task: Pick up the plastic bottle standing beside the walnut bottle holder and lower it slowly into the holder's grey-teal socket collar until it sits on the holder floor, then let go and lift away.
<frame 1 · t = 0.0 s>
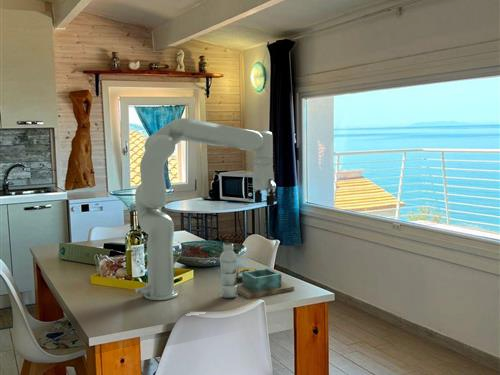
hand: (264, 203, 224), 31 cm above the table, fingers open, 9 cm apart
plastic bottle: (229, 297, 203), on the table
bottle holder: (261, 289, 212), on the table
electronic device: (245, 280, 228), on the table
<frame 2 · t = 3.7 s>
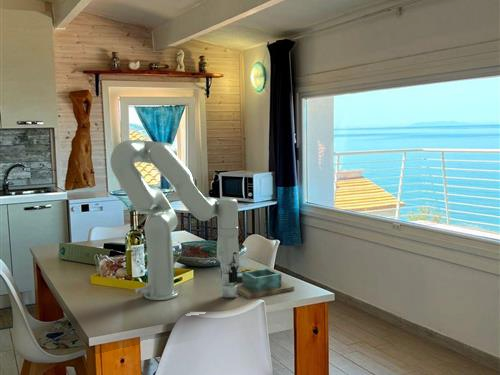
hand: (229, 279, 202), 7 cm above the table, fingers closed on plastic bottle, 5 cm apart
plastic bottle: (229, 297, 203), on the table, touching gripper
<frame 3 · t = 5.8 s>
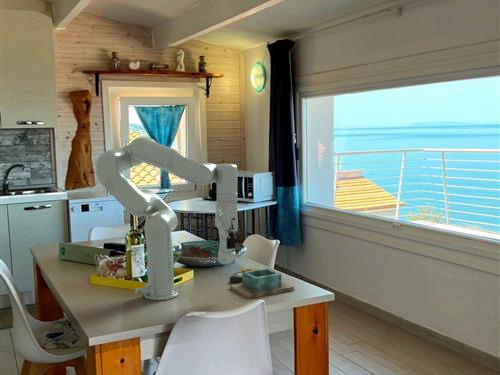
hand: (226, 246, 201), 19 cm above the table, fingers closed on plastic bottle, 5 cm apart
plastic bottle: (226, 264, 202), point 12 cm above the table, touching gripper
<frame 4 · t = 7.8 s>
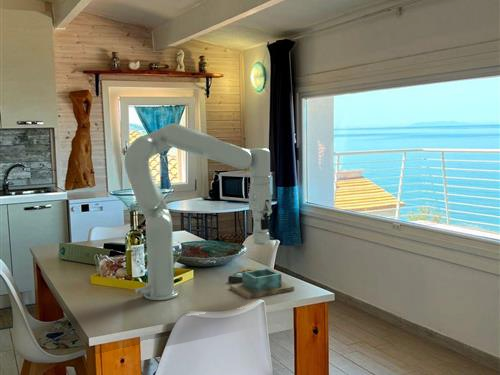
hand: (260, 227, 209), 24 cm above the table, fingers closed on plastic bottle, 5 cm apart
plastic bottle: (260, 245, 210), point 18 cm above the table, touching gripper
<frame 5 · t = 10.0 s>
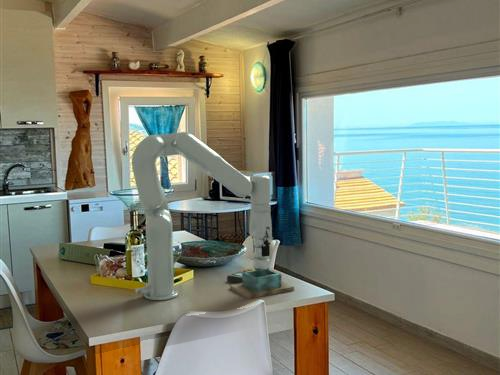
hand: (261, 254, 210), 14 cm above the table, fingers closed on plastic bottle, 5 cm apart
plastic bottle: (261, 271, 211), point 7 cm above the table, touching gripper
when the fingers open (9 cm above the table, at t = 11.8 s): plastic bottle stays where it is, resting on bottle holder.
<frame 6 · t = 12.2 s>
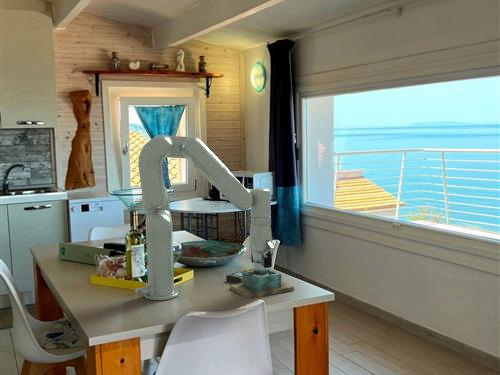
hand: (261, 264, 211), 10 cm above the table, fingers open, 9 cm apart
plastic bottle: (260, 286, 212), point 1 cm above the table, touching bottle holder
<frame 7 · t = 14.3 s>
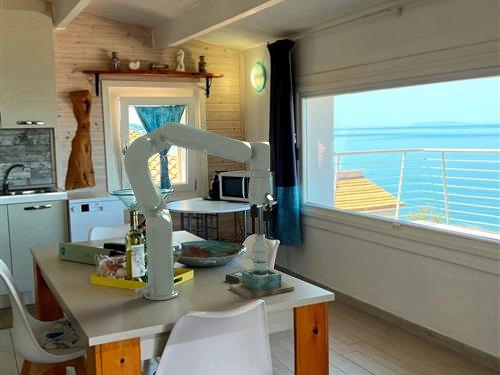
hand: (260, 219, 209), 27 cm above the table, fingers open, 9 cm apart
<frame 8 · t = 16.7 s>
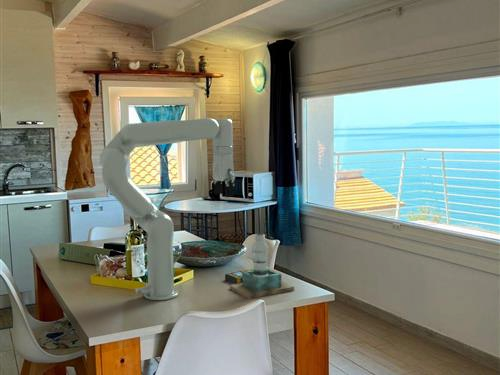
hand: (224, 195, 213), 36 cm above the table, fingers open, 9 cm apart
at the end: plastic bottle 0.6 cm off-centre on the bottle holder, point 1.3 cm above the bottle holder's base; plastic bottle tilted 0°; the gripper is holding nothing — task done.
